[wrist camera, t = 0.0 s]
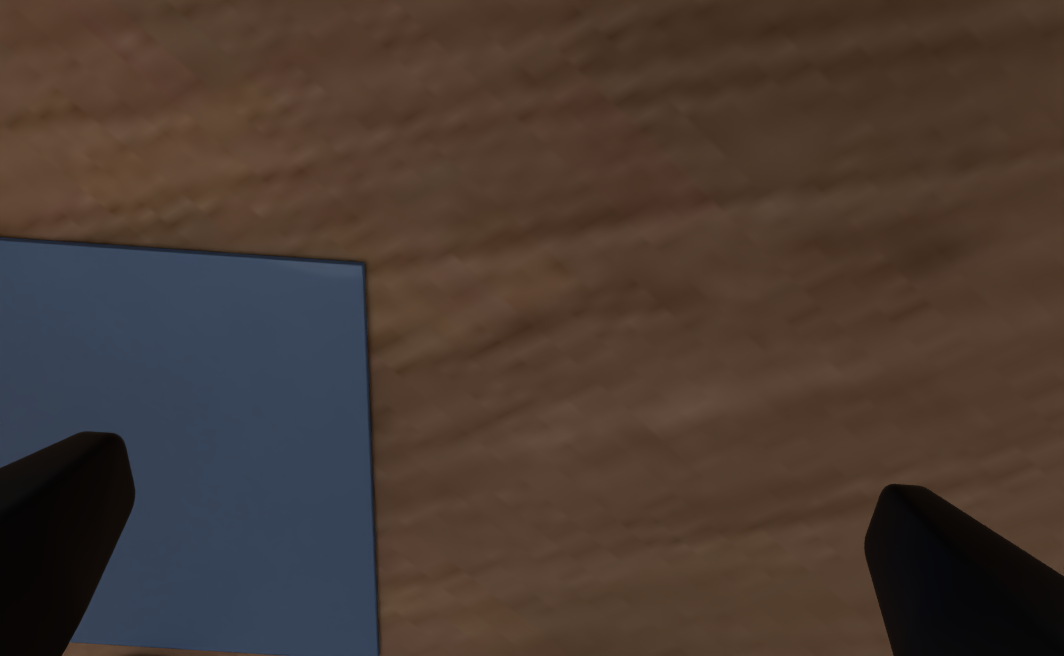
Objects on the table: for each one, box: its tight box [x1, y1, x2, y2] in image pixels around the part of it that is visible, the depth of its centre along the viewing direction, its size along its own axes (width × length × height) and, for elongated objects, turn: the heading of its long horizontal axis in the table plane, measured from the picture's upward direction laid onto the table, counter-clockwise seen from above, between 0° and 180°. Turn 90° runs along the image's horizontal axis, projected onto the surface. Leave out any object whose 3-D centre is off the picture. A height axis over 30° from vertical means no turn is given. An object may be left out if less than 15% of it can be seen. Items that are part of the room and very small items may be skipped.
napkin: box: [0, 237, 379, 656], centre depth 27 cm, size 18×20×1 cm
